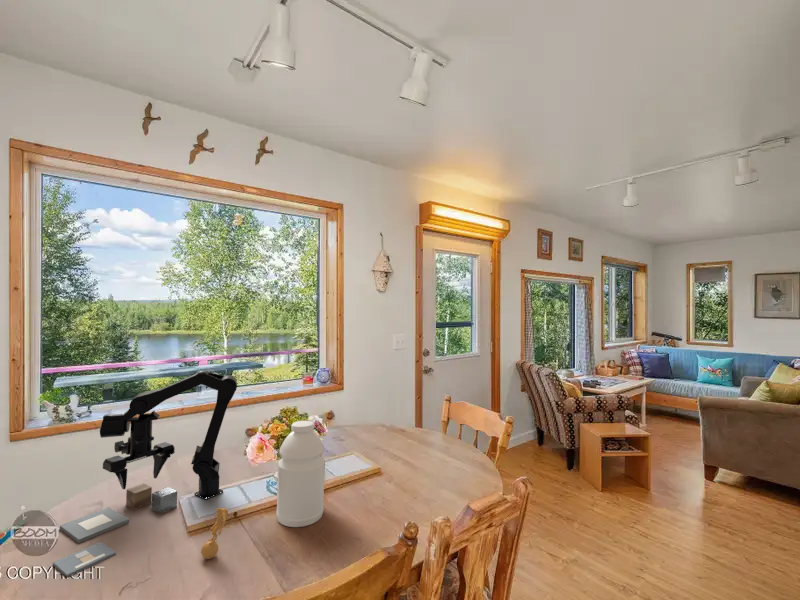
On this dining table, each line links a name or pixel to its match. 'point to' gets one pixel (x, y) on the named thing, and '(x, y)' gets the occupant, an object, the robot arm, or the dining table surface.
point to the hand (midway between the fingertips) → (139, 483)
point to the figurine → (214, 535)
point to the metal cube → (164, 500)
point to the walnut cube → (138, 496)
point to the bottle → (300, 477)
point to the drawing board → (83, 559)
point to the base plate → (94, 524)
